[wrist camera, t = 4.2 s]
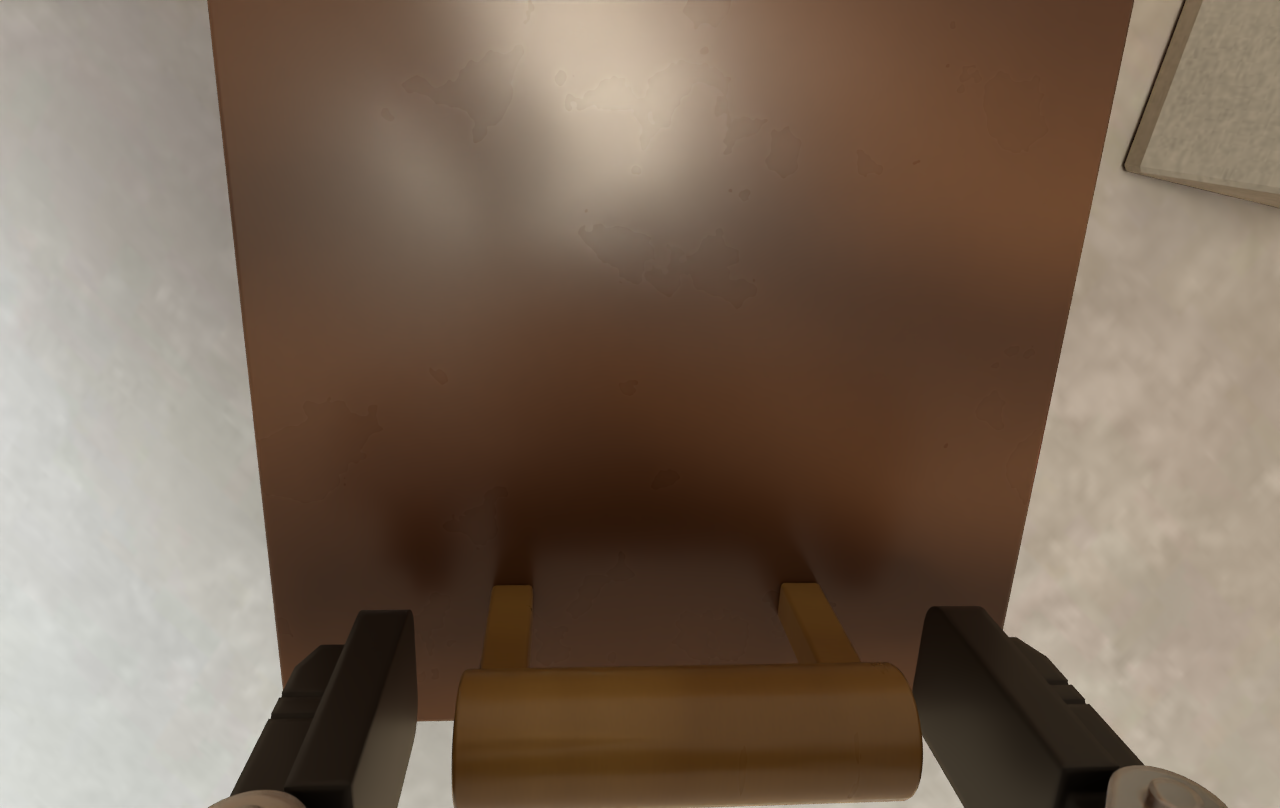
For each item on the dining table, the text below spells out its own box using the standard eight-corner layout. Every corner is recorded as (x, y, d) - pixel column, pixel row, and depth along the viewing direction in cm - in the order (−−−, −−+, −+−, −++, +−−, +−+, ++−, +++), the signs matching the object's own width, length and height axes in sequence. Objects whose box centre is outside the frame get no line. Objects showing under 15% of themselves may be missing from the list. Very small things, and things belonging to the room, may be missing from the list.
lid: (969, 684, 17) (1133, 910, 12) (298, 696, 15) (178, 957, 11) (1173, -348, 11) (1620, -695, 7) (180, -454, 10) (-167, -976, 5)
